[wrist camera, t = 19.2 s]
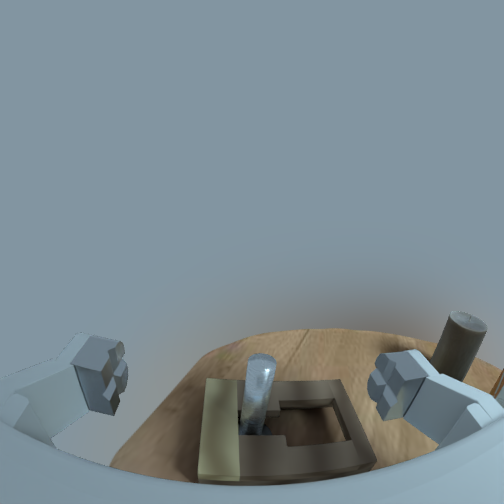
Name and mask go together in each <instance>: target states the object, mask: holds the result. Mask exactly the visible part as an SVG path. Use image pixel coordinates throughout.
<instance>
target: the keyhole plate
mask: <svg viewBox="0 0 504 504" xmlns="http://www.w3.org/2000/svg"><path fill="white" fill-rule="evenodd" d="M244 389H245V380H227V379H213V378H207V379H206V388H205V398H204V408H203V418H202V428H201V439H200V451H199V463H198V482H199V484H210V485H228V486H268V485H286V484H298V483H307V482H315V481H323V480H329V479H335V478H341V477H346V476H351V475H356V474H361V473H365V472H369V471H370V469H371V468H372V467H373V466H374V464H375V463H376V462H377V459H376V456H375V454H374V452H373V450H372V447H371V445H370V443H369V441H368V439H367V436H366V434H365V432H364V430H363V428H362V425H361V423H360V421H359V419H358V417H357V414H356V412H355V410H354V408H353V406H352V404H351V401H350V399H349V397H348V395H347V393H346V391H345V389H344V386H343V384H342V382H341V380H340V379H338V380H320V381H273V383H272V388H271V393H270V398H269V403H268V407H267V412H266V416H265V417H279V414H280V409H305V408H322V407H333V408H334V411H335V413H336V416H337V419H338V421H339V424H340V426H341V429H342V432H343V434H344V437H345V439H346V441H342V442H335V443H327V444H318V445H307V446H293V447H287V442H286V437H285V435H238V417H241V412H242V405H243V397H244Z"/></svg>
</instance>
